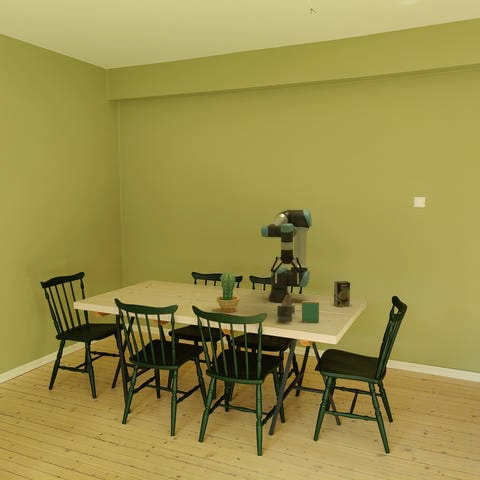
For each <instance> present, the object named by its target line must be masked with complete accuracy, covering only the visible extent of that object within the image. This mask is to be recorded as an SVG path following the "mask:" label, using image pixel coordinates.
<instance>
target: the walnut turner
mask: <svg viewBox="0 0 480 480" xmlns="http://www.w3.org/2000/svg"><path fill="white" fill-rule="evenodd" d="M292 305H293V295H292V294H289V295H286V296H285V298H284V300H283V302H282V303H281V305H277V307H276V309H277V311H276V312H277V314H276V315H277V317H278V316H281V317H291V306H292Z"/></svg>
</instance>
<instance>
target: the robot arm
mask: <svg viewBox="0 0 480 480" xmlns="http://www.w3.org/2000/svg"><path fill="white" fill-rule="evenodd" d="M312 220H313V219H312V214H311V211H310V210H308V209H307V210H306V209H287V210H286V209H285V210H283V211H281V212H278V213H277V214H276V215H275V217H274V219H273V220H272V221H271V222H270V223H269V224H268V225H267V224H266V225H262V226H261V229H260V234H261V237H262V238H280V256H275V259H274V260H275V261H274V262H273V264H272V266H271V269H270V270H269V272H270V273H271V274H270V284H271V286H270V287H271V288H270V289H271V290H270V292H269V295H268V301H269V302H271V303H278V304H279V303H280V304H282V302H283V300H284V298H285V296H286V295H290V293H289V289H288V287H295V288H296V287H297V288H306V287H307V286H308V284H309V282H310V277H311V271H310V270H308V267H307V265H306V264H307V261H306V260H307V259H306V258H307V241H308V240H307V238H308V237H307V236H308V231H310V228H311V227H312V226H313V225H312V224H313V221H312ZM279 260H280V263H279V264H278V263H277V262H278V261H279ZM277 264H278V265H277ZM276 265H277V267H276ZM282 265H291V267H290V269H289V268H288V267H286V266H282ZM275 267H276V268H275Z"/></svg>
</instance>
